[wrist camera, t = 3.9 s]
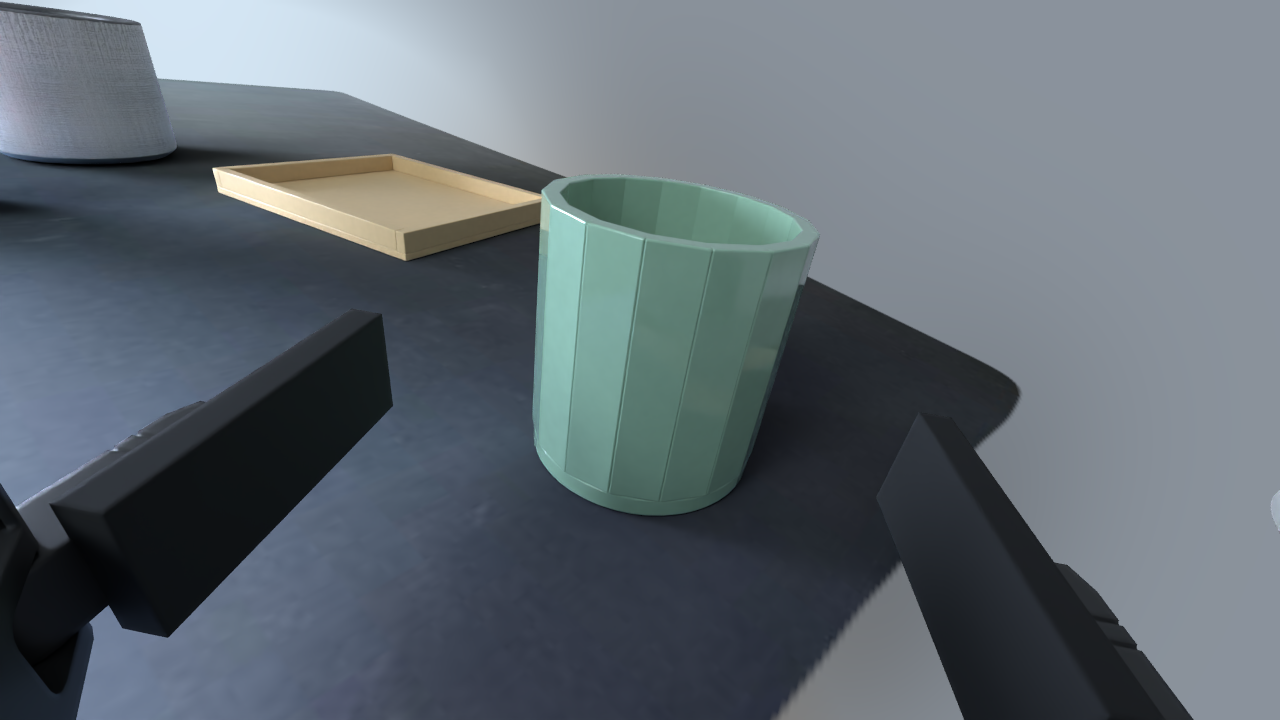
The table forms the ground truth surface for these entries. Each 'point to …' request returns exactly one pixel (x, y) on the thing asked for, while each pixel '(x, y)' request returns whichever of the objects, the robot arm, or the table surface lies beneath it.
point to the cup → (659, 335)
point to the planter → (78, 89)
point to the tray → (384, 201)
